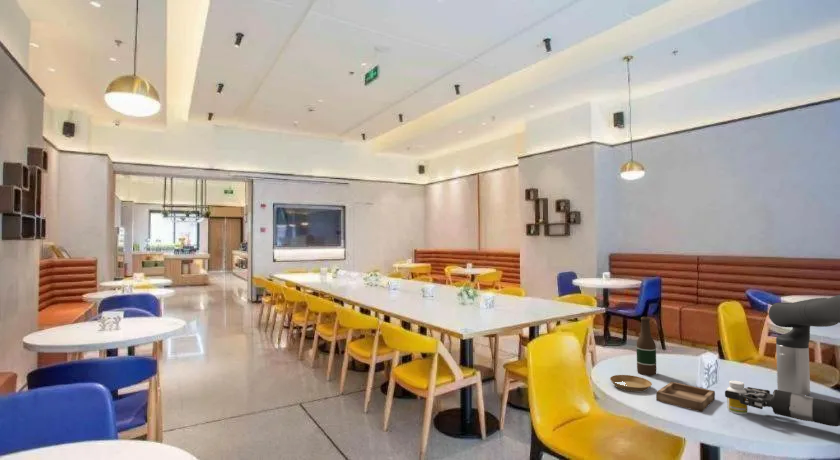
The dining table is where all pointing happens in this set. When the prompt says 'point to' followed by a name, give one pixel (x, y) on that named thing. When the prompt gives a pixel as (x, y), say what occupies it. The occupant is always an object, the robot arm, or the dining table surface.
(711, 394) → the serving tray
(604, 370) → the dining table surface
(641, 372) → the beer bottle
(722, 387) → the dining table surface
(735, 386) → the supplement bottle
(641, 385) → the plant saucer
